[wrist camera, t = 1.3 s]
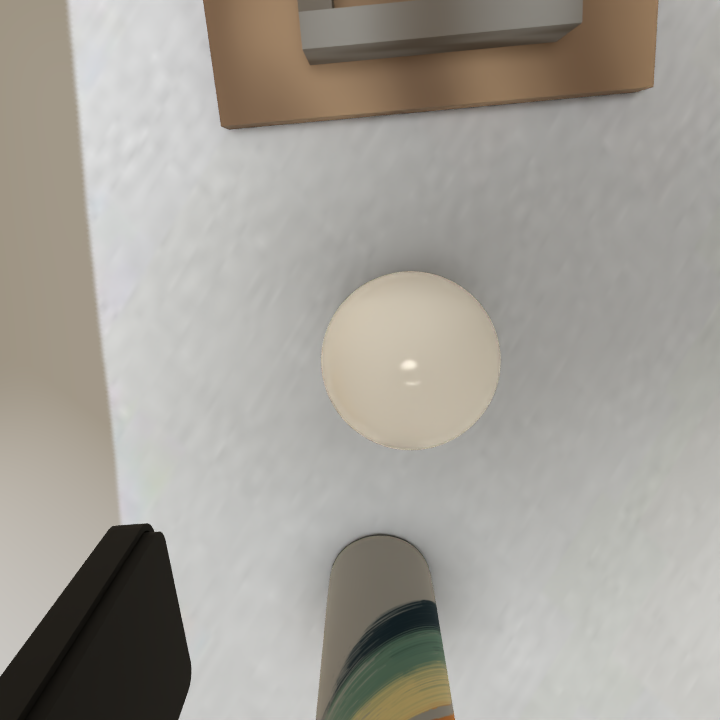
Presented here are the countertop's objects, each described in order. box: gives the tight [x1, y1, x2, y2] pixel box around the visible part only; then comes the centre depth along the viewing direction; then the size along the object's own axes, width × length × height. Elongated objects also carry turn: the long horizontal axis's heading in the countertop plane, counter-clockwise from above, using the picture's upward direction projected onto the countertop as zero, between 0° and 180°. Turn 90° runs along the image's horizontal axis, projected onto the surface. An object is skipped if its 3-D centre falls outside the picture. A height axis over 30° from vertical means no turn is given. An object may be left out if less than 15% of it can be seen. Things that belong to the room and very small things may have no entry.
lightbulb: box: [321, 271, 501, 450], centre depth 23 cm, size 6×6×11 cm
